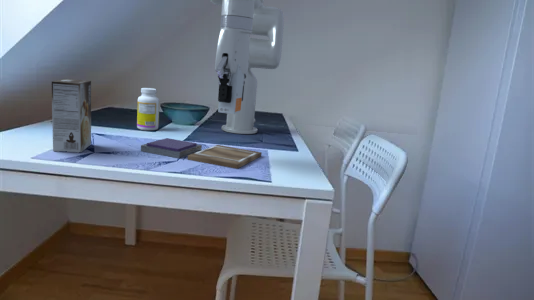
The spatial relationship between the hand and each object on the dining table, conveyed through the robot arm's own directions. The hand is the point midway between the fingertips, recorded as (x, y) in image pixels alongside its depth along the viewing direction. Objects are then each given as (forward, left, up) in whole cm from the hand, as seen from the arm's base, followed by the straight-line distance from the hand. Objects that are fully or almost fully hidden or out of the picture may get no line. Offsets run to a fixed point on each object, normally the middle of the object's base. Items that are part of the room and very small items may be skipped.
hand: (230, 100), depth 100 cm
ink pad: (+3, -14, -14) cm, 20 cm away
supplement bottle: (-18, -36, -15) cm, 43 cm away
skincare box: (0, 0, -3) cm, 3 cm away
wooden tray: (0, 0, -14) cm, 14 cm away
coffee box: (+16, -33, -15) cm, 40 cm away
